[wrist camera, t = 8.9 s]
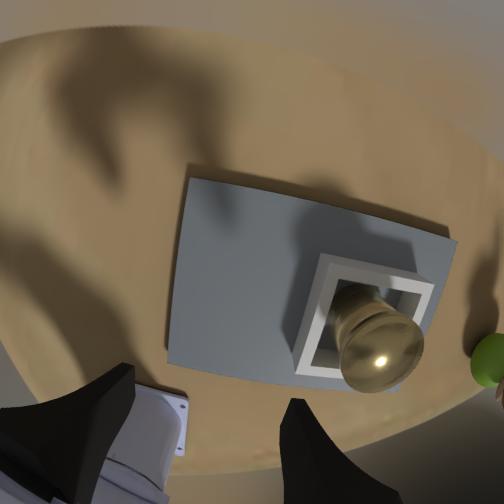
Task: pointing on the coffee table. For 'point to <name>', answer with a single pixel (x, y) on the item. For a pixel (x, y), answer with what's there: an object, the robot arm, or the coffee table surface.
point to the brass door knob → (372, 339)
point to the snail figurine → (489, 363)
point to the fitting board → (287, 281)
